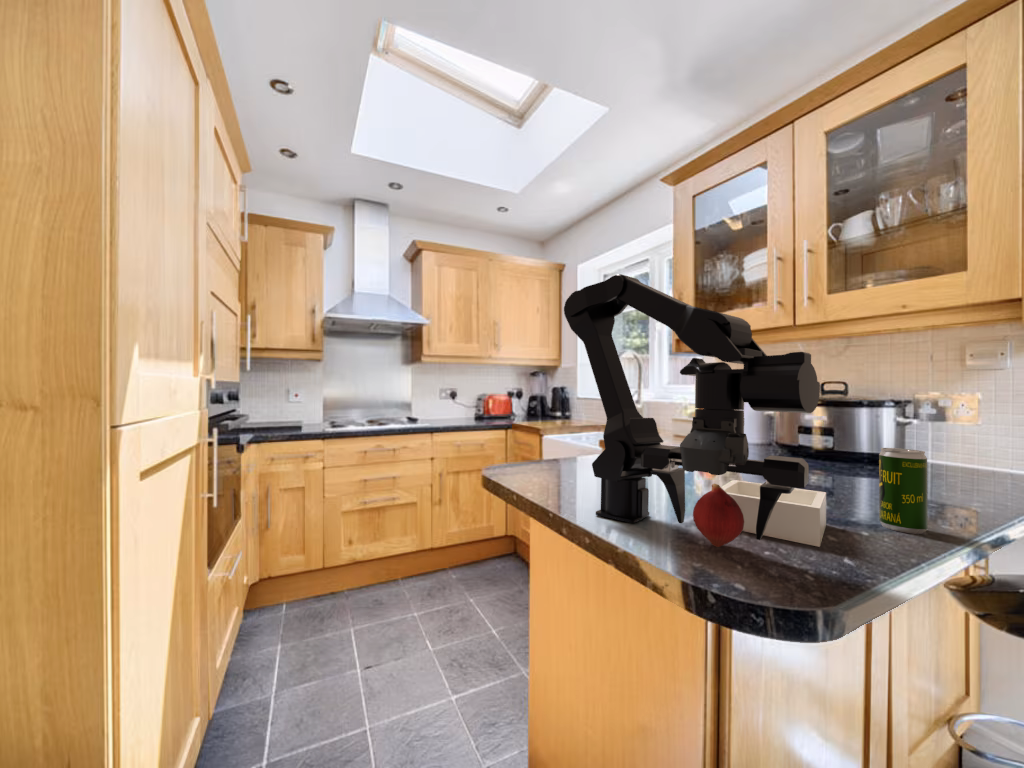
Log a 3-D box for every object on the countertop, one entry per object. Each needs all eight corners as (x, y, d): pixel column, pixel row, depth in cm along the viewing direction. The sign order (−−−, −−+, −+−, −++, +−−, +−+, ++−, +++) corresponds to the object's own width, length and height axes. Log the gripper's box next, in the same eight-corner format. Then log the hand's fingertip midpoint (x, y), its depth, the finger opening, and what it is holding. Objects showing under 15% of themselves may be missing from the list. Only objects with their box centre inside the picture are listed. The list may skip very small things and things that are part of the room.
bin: (712, 524, 62) (713, 491, 62) (732, 508, 72) (733, 479, 72) (819, 546, 54) (819, 508, 54) (826, 524, 64) (826, 492, 64)
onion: (736, 541, 55) (737, 481, 55) (749, 557, 49) (749, 490, 50) (690, 536, 56) (690, 478, 57) (697, 551, 51) (697, 486, 51)
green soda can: (901, 523, 66) (901, 447, 66) (938, 534, 60) (937, 452, 61) (869, 523, 65) (869, 447, 66) (904, 534, 60) (903, 451, 60)
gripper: (624, 407, 53) (622, 528, 53) (799, 414, 41) (798, 571, 41) (656, 407, 62) (655, 511, 61) (809, 412, 50) (808, 542, 49)
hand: (717, 530), depth 53 cm, fingers open, 9 cm apart
